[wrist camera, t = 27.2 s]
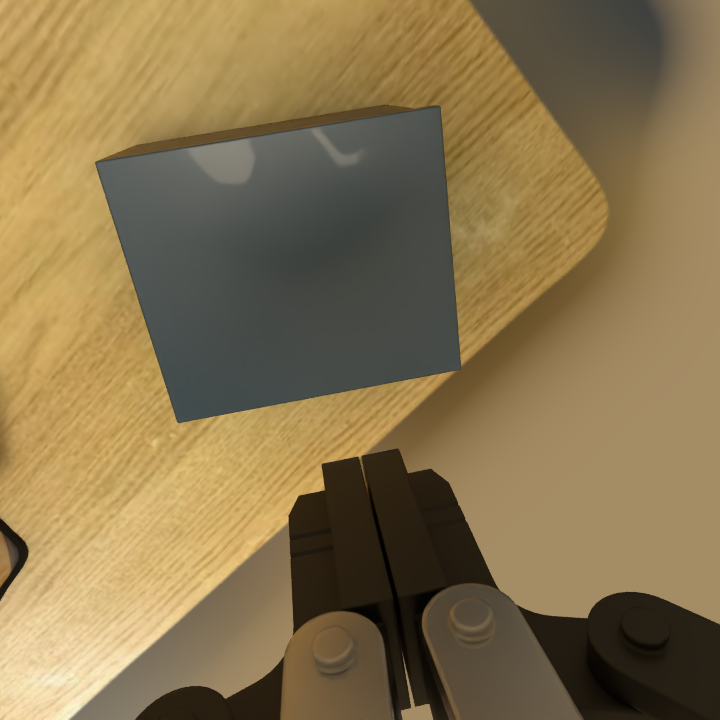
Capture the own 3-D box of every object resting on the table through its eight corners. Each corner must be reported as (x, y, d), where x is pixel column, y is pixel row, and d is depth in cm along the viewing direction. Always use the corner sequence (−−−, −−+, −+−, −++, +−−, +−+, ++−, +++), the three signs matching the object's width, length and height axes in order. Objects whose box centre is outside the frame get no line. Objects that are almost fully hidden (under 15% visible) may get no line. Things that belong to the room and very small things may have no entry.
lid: (436, 105, 24) (440, 105, 23) (456, 363, 29) (461, 369, 28) (99, 159, 23) (93, 161, 23) (180, 415, 28) (177, 423, 27)
